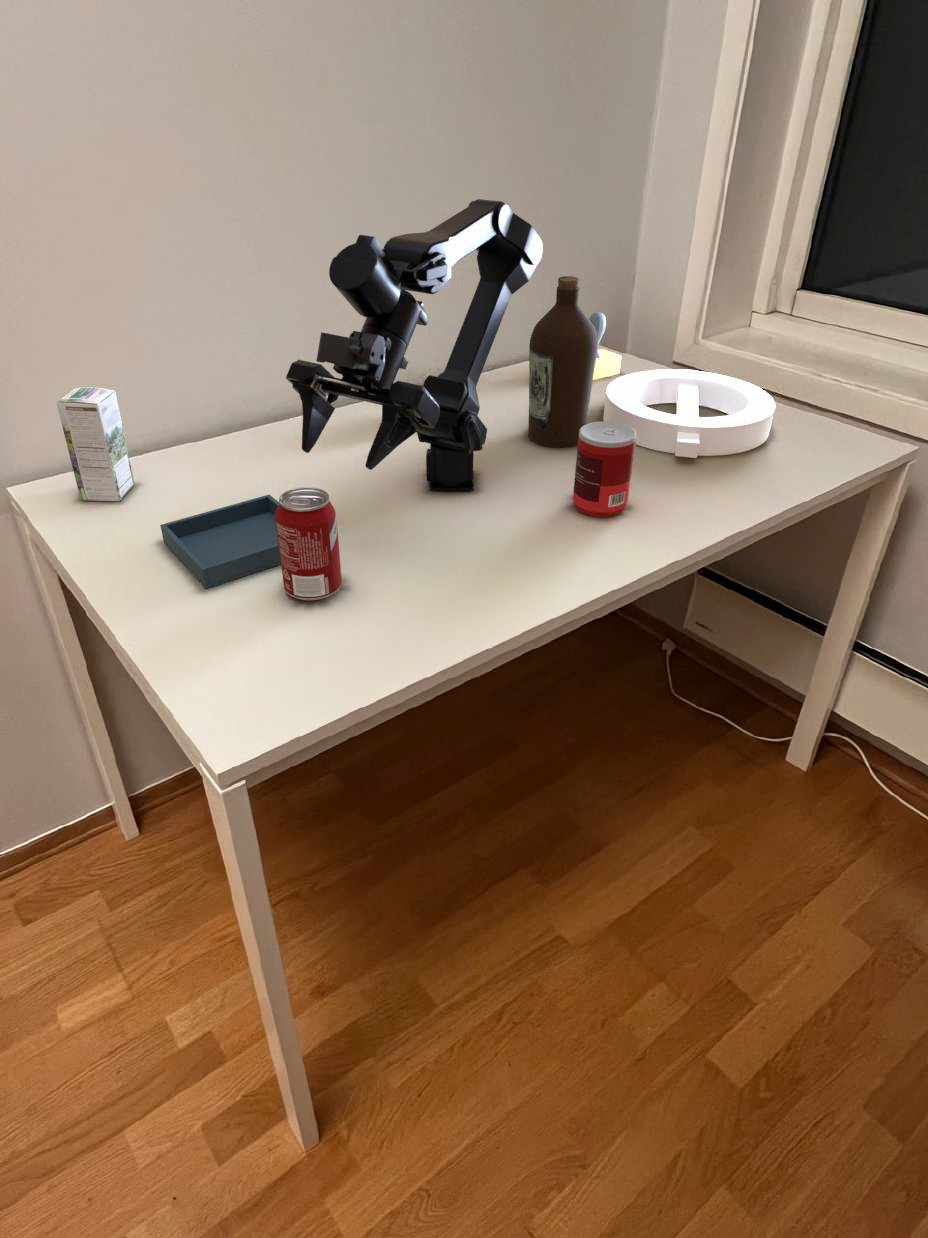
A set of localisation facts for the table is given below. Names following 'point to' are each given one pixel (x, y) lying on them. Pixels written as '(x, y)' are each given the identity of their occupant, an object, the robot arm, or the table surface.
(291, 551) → the soda can
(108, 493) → the syrup box
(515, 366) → the table surface
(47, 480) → the table surface
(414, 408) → the robot arm
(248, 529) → the tray
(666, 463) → the table surface
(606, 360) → the rubber stamp
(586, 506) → the canned food
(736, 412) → the ring with crossbar
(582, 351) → the olive oil
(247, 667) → the table surface
